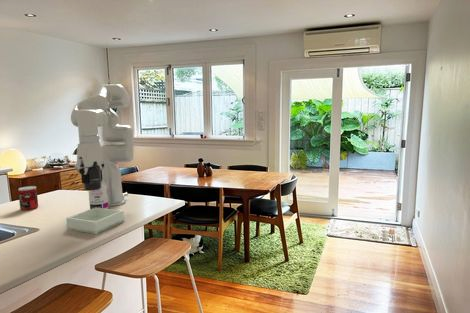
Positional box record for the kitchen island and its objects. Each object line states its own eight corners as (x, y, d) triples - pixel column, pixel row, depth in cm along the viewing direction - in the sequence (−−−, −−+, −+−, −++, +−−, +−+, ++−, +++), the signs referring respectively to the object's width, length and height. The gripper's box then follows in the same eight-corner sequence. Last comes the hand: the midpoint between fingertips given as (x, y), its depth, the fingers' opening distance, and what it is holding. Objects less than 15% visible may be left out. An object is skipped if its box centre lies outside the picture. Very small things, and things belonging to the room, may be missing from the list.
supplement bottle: (95, 191, 134) (92, 162, 132) (80, 190, 135) (78, 162, 133) (105, 187, 140) (103, 159, 139) (91, 186, 142) (88, 159, 140)
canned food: (16, 210, 165) (14, 189, 163) (31, 205, 172) (29, 185, 170) (27, 211, 162) (24, 190, 160) (41, 207, 169) (39, 186, 168)
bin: (96, 217, 150) (95, 207, 149) (124, 221, 144) (123, 210, 144) (67, 229, 135) (66, 218, 135) (96, 234, 130) (95, 222, 129)
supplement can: (104, 209, 163) (102, 180, 161) (111, 213, 157) (109, 182, 155) (87, 213, 157) (85, 183, 155) (94, 217, 151) (92, 185, 149)
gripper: (98, 137, 144) (101, 177, 147) (64, 141, 128) (68, 185, 131) (111, 138, 141) (114, 178, 144) (78, 142, 125) (82, 186, 128)
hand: (92, 181), depth 137 cm, fingers closed on supplement bottle, 6 cm apart
